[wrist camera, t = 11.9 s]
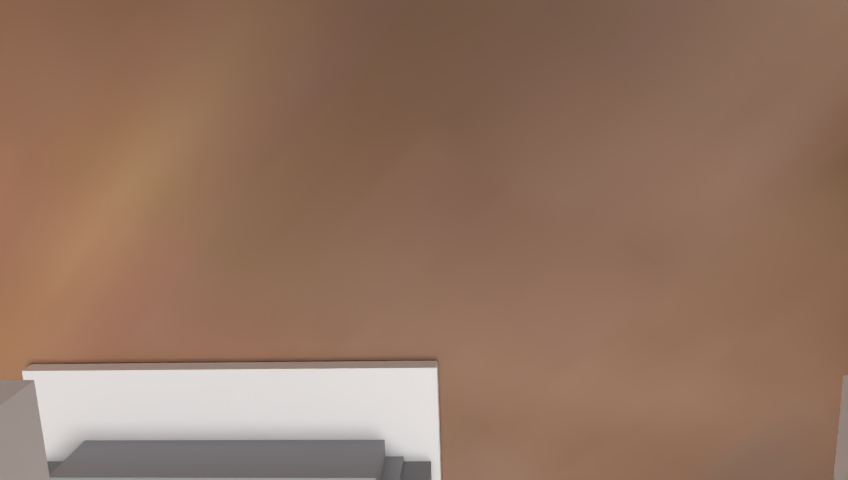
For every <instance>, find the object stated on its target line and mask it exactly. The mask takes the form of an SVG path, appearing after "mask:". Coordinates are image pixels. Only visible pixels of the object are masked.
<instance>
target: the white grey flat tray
mask: <svg viewBox="0 0 848 480" xmlns="http://www.w3.org/2000/svg"><path fill="white" fill-rule="evenodd" d="M22 374H23V380H34V382H35V389H36V395H37V401H38V407H39V414H40V420H41V426H42V432H43V439H44V445H45V451H46V457H47V464H48V470H49V476H50V480H442V473H441V442H440V412H439V381H438V361H334V362H219V363H104V364H31V365H30V366H28V367H27V368H26V369H24V370H23V371H22Z"/></svg>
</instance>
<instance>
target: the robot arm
mask: <svg viewBox="0 0 848 480" xmlns="http://www.w3.org/2000/svg"><path fill="white" fill-rule="evenodd" d="M0 480H50V476H49V470H48V464H47V457H46V451H45V445H44V439H43V432H42V426H41V420H40V414H39V407H38V401H37V395H36V389H35V382H34V380H0ZM834 480H848V375H844V376H843V387H842V397H841V408H840V418H839V429H838V439H837V449H836V460H835V470H834Z"/></svg>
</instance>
